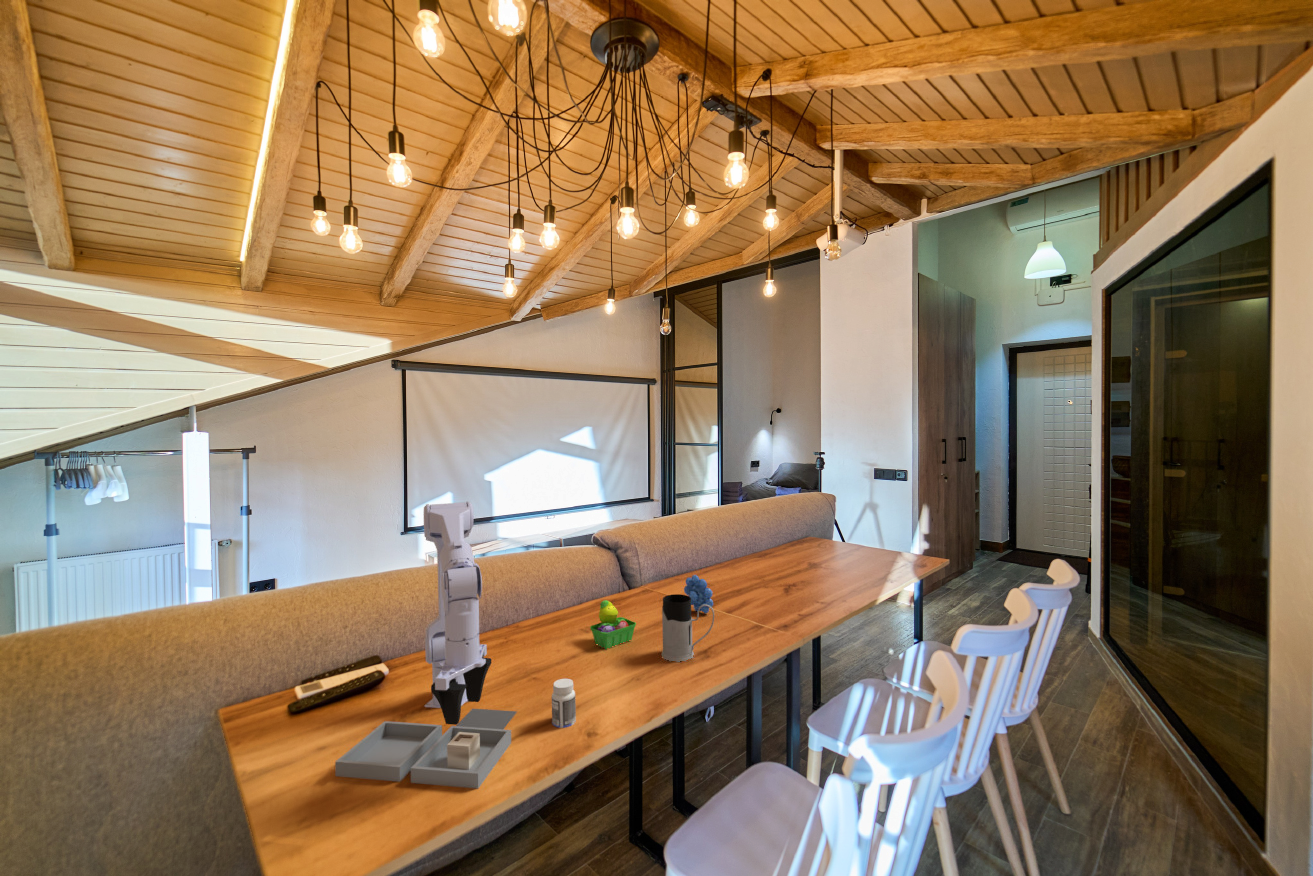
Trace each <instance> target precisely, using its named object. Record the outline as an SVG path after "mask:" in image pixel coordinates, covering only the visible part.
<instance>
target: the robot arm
mask: <svg viewBox="0 0 1313 876" xmlns="http://www.w3.org/2000/svg"><path fill="white" fill-rule="evenodd" d="M473 527H474V506H473V504H472V503H471V501H465V502H453V503H451V502H450V503H437V504H429V503H426V504H425V505H424V507H423V531H424V533H423V534H424V538H425V541H428V542H430V543H433V544H434V546H435V549H436V552H437V553H436V555H437V556H436V558H437V560H436V561H437V562H436V563H437V595H438V598H437V599H438V616H437V617H435V619H434V620H432V621H431V622H430V623H428V624H427V626H426V628H425V638H424V639H425V640H424V648H425V650H424V651H425V653H424V655H425V662H426V663H428V664H430V665H431V667H432V673H431V674H432V684H431V685H430V692H431V694H432V698H431V700H429V701H427V703H426V704H425V705H424V706H423V707H425V708H433V709H434V708H436V709H437V708H438V709H441V711H442V717H443V719H444V722H445V724H446V725H452V726H456V725H457V724H458V723H459V722H460V721H461V720H460V719H461V711H462V710H461V709H462V706H463V705H464V704H465V703H468V702H471V703H479V702H480V701H481V698H482V693H483V688H484V684H485V679H486V677H487V673H488V671H489V669H490V667H491V665H492V658H489V657H485V656H486V655H488V654H487V653H488V652H487V651H488V650H487V649H488V647H487V645H488V644H483V643H482V644H481V643H480V601H479V600H480V598H481V597H482V593H483V592H482V591H483V577H482V572H481V568H480V565H479V564H478V563H477V562H475V559H474V554H473V550H472V546H471V545H470V543H468V542H466V541H465V539H466V538H468V537H469V536H470V534H471V531H472V529H473Z"/></svg>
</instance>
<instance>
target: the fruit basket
mask: <svg viewBox="0 0 1313 876" xmlns="http://www.w3.org/2000/svg"><path fill="white" fill-rule="evenodd" d="M599 604H600V605H599V613H598V617H599V621H600V622H599V623H596V624H593V625H590V627H589V628H590V631H591V633H592V636H593V639H594V643H595V645H596V644H598V645H597V646H598V647H600V646H601V648H602V647H604V648H603V649H605V650H608V649H607V648H609V649H611V648H613V647H612V646H615V645H618V644H620V643H623V642H626V641H629V640H631V641H632V639H633V635H634V631H635V628H636V625H637V623H636V621H633V620H630V619H628V618H626V617H623V616H621V617H620V616H619V617H618V615H619V611H618V609H617V608H616V607H615V605H614V604H613V603H612V602H611V601H609V600H608V599H607V600H605V599H604V600H602V601H601V602H600V603H599ZM629 642H630V641H629ZM626 643H627V642H626ZM618 646H619V645H618ZM610 647H611V648H610ZM615 647H616V646H615Z"/></svg>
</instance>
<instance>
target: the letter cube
mask: <svg viewBox="0 0 1313 876" xmlns="http://www.w3.org/2000/svg"><path fill="white" fill-rule="evenodd" d="M479 756H480V733H467V732H458V734H457V735H456V736H455V737H454V738H453V739H452V740H451V741H450V742H449V743H448V744H447V764H448V768H460V769H470V767H471V766H472V765H473V764H474V762H475V761H476V760H477V759H478V757H479Z"/></svg>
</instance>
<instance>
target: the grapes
mask: <svg viewBox="0 0 1313 876" xmlns="http://www.w3.org/2000/svg"><path fill="white" fill-rule="evenodd" d="M683 591H684V595H687V596H689V597H691V606H693V609H694V611H695V612H696V611H698V608H699V607H700V606H701V605H704V604H706V605H709V606H711V607H712V608H713V606H714V600H713V599H712V597H713V594H714V593H713V590H712V589H711V588H709V587H708V582H707V581H706V580H705V579H704V578H699V576H698V575H697V574H693V575H692V576H691V577H687V578H686V579H685V586H684V588H683ZM699 611H701V612H702V613H703V612H704V613H703V614H708V613H709V612H710V608H709V607H707V606H703V607H701V608H700V610H699Z"/></svg>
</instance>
